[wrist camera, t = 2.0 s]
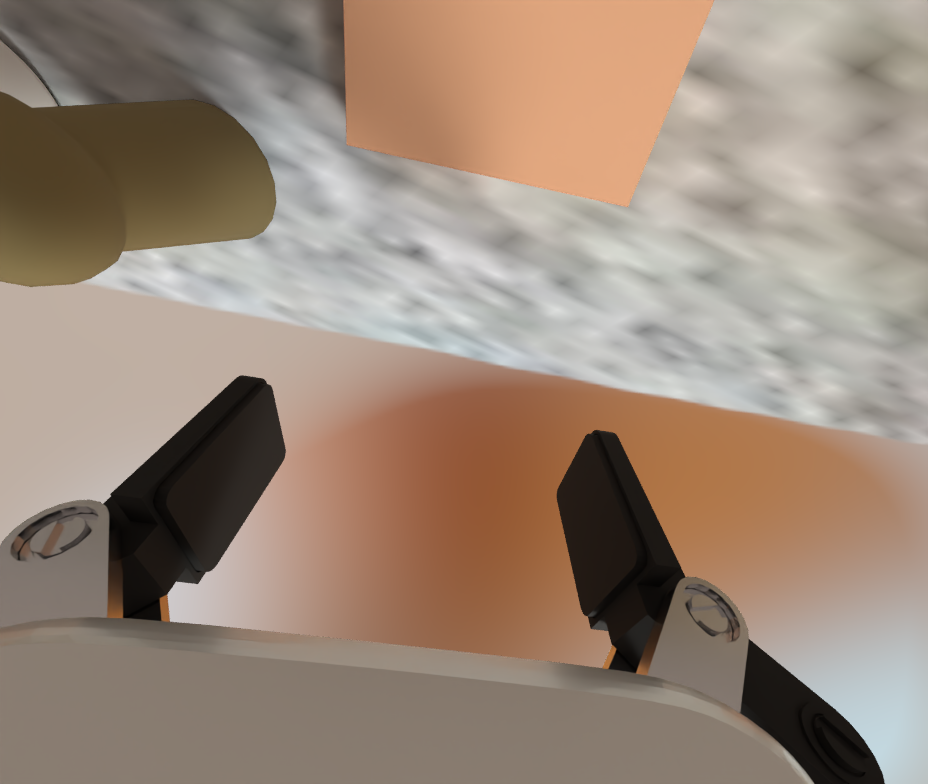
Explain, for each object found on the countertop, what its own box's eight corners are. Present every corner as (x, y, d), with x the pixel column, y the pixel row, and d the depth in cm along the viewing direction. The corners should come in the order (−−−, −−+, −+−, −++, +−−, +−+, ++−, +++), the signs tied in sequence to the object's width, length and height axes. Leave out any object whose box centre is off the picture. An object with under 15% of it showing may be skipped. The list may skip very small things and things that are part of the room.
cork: (257, 105, 15) (-64, 37, 6) (288, 244, 19) (106, 324, 10) (129, 93, 15) (-370, 7, 6) (183, 234, 19) (-91, 305, 10)
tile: (731, -139, 11) (814, -239, 8) (604, 198, 17) (627, 207, 14) (376, -241, 10) (334, -387, 8) (371, 146, 16) (346, 144, 13)
